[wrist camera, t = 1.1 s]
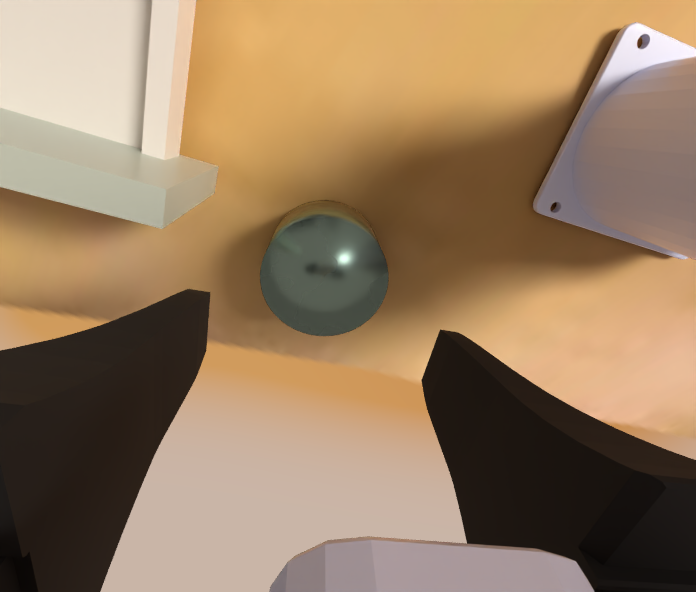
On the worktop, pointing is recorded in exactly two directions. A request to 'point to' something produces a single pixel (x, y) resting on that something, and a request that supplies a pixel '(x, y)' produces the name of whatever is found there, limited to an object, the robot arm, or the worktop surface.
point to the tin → (324, 269)
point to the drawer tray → (99, 106)
